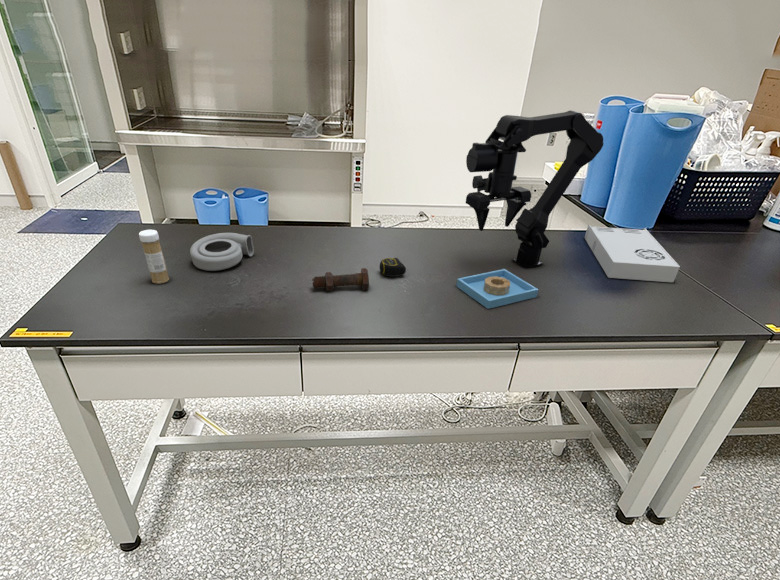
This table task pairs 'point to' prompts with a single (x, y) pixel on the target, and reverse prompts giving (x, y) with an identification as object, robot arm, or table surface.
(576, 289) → the table surface
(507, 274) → the tray
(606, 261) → the power supply unit
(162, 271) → the sprinkles bottle
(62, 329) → the table surface
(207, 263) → the turbocharger housing
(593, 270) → the table surface
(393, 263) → the tape measure
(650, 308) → the table surface
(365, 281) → the bolt
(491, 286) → the wooden ring
